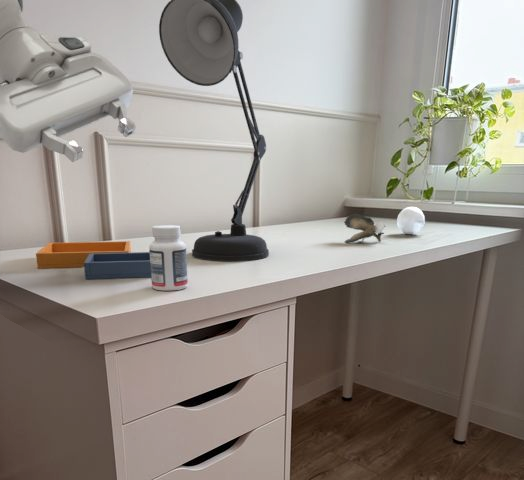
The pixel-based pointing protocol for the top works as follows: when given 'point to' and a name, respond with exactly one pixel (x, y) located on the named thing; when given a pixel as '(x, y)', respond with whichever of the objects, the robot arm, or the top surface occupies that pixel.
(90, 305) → the top surface
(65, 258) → the amber tray
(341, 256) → the top surface
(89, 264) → the slate tray
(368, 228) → the eagle figurine
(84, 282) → the top surface
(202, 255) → the desk lamp
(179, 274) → the pill bottle
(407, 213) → the white egg
